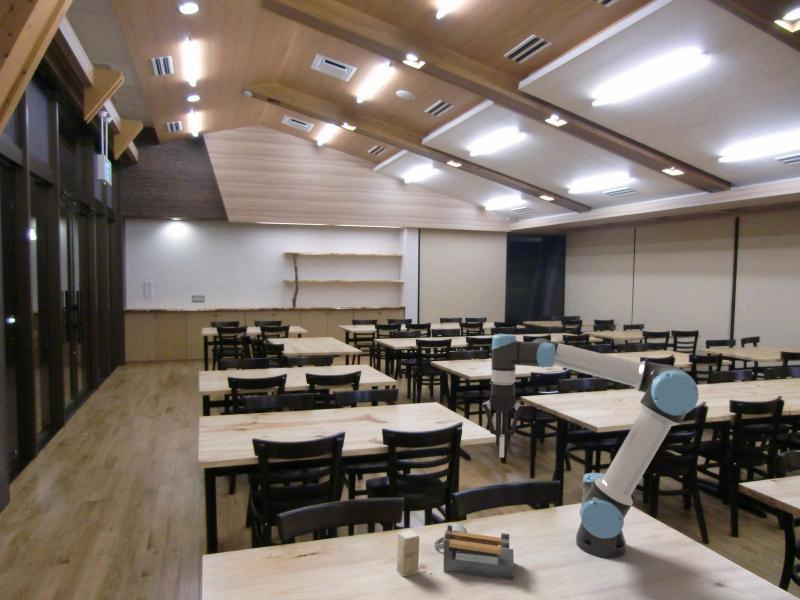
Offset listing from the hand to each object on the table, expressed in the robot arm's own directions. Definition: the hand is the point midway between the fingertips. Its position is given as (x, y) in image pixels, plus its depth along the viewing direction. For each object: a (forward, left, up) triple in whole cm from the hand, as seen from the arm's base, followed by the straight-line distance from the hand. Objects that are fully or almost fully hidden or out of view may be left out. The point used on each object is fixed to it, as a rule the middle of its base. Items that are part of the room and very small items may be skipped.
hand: (501, 456), depth 168 cm
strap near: (+7, +17, -23) cm, 29 cm away
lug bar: (+15, +14, -25) cm, 33 cm away
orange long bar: (+7, +11, -23) cm, 27 cm away
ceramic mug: (+15, +5, -30) cm, 34 cm away
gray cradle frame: (+6, +14, -29) cm, 33 cm away
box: (+26, +21, -30) cm, 45 cm away
